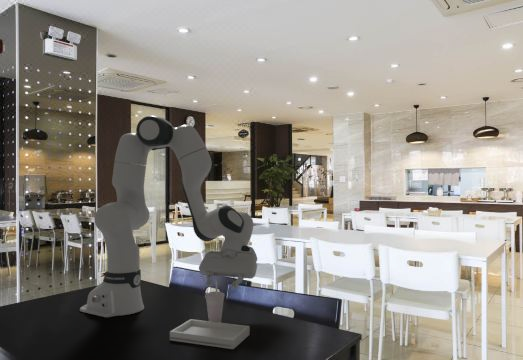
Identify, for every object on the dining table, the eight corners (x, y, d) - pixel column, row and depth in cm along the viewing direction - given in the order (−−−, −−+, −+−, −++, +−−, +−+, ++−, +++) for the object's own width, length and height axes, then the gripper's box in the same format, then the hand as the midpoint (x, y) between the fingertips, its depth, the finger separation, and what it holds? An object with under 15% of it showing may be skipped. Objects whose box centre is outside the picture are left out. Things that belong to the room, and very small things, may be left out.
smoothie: (221, 328, 131) (221, 283, 131) (202, 326, 132) (202, 282, 132) (227, 321, 137) (227, 278, 137) (208, 320, 138) (208, 278, 138)
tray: (169, 340, 120) (169, 331, 120) (190, 327, 132) (190, 319, 132) (233, 349, 114) (233, 339, 114) (249, 334, 125) (249, 326, 125)
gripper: (203, 245, 150) (190, 278, 140) (257, 248, 143) (246, 283, 133) (209, 256, 154) (196, 289, 144) (261, 259, 147) (251, 293, 137)
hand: (221, 286), depth 139 cm, fingers open, 8 cm apart
